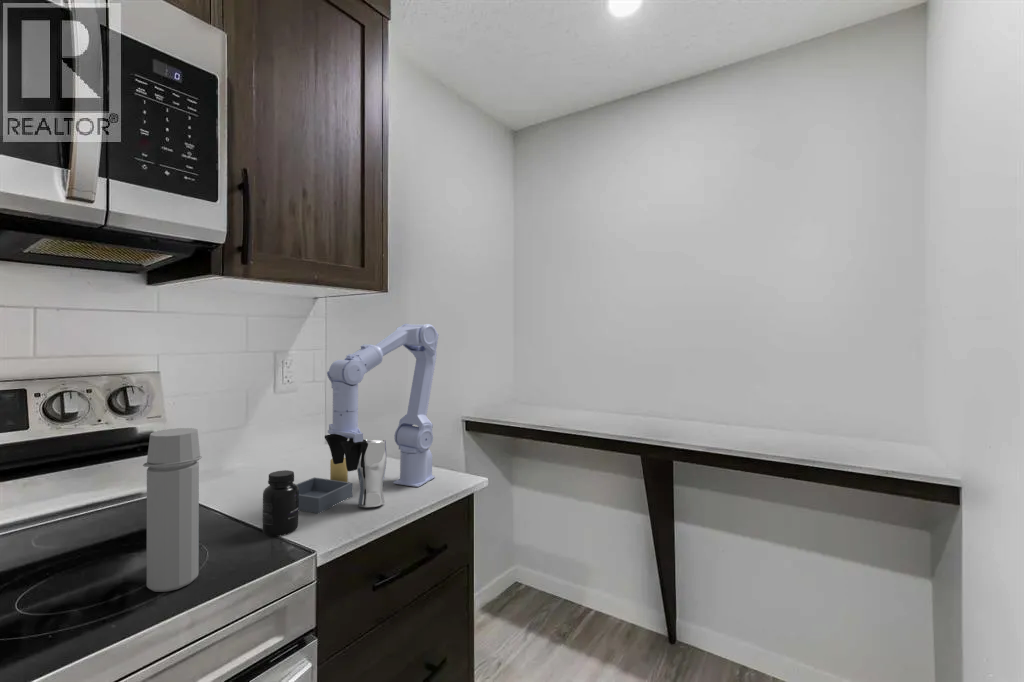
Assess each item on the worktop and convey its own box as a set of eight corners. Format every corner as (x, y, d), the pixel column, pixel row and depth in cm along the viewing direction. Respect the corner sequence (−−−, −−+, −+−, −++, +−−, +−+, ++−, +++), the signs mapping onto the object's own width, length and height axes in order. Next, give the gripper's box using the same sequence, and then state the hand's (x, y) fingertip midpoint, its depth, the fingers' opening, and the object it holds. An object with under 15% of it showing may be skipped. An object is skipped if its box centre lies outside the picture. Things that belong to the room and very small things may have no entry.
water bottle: (207, 581, 79) (208, 432, 78) (148, 601, 73) (149, 439, 73) (191, 562, 85) (192, 424, 85) (136, 579, 79) (136, 430, 79)
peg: (337, 481, 131) (337, 456, 131) (350, 483, 130) (351, 458, 130) (326, 486, 127) (326, 460, 127) (340, 488, 126) (340, 462, 126)
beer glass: (349, 506, 113) (350, 442, 114) (371, 499, 119) (371, 438, 120) (371, 509, 110) (372, 443, 111) (392, 502, 116) (392, 440, 117)
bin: (314, 490, 124) (314, 477, 124) (352, 496, 120) (352, 482, 120) (277, 506, 113) (277, 491, 113) (318, 513, 109) (318, 498, 109)
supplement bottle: (300, 533, 98) (300, 475, 98) (262, 539, 95) (263, 480, 95) (296, 521, 104) (297, 466, 104) (261, 527, 101) (262, 471, 101)
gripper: (316, 407, 116) (316, 463, 116) (342, 416, 105) (341, 477, 105) (344, 405, 121) (344, 458, 121) (371, 412, 110) (371, 471, 110)
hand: (345, 466), depth 113 cm, fingers open, 7 cm apart
